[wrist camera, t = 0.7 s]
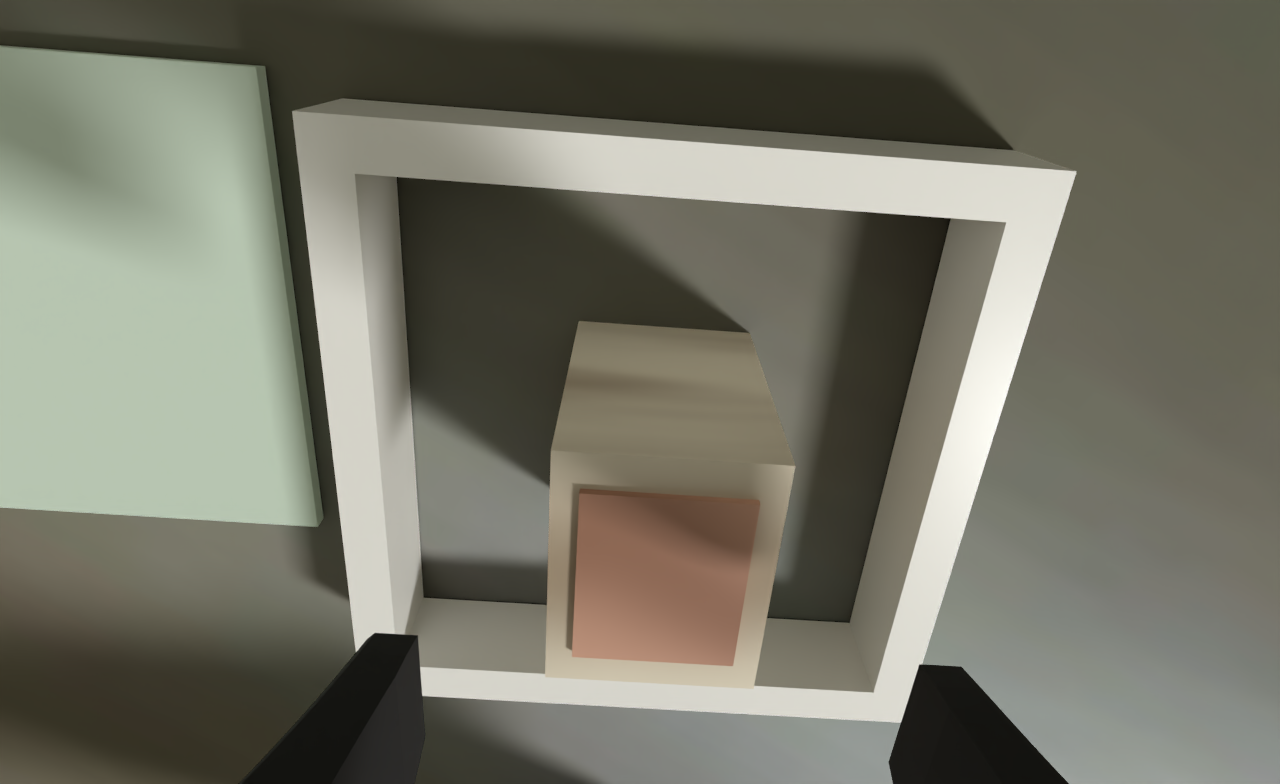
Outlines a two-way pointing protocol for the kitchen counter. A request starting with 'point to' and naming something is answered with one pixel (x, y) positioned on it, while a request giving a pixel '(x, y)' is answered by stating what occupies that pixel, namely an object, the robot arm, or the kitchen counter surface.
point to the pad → (147, 294)
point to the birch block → (663, 508)
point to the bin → (693, 169)
